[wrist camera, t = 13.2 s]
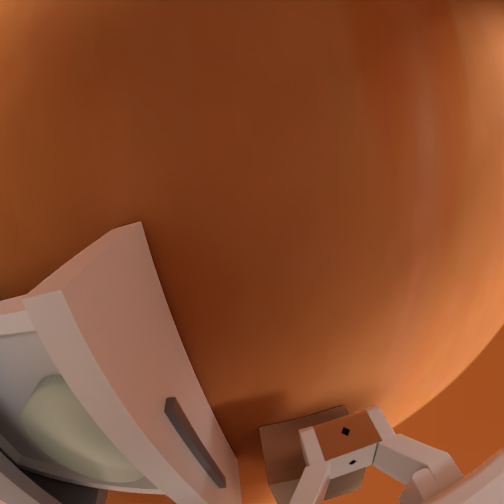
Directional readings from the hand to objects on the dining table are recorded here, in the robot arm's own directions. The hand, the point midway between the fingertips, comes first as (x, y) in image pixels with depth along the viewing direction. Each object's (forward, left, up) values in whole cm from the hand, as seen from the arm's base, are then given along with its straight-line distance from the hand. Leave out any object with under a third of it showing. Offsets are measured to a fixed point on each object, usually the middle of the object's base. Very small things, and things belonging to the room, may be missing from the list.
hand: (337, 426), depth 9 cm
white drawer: (+14, 0, -4) cm, 15 cm away
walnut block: (+1, +7, -4) cm, 8 cm away
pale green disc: (+11, 0, -2) cm, 11 cm away
